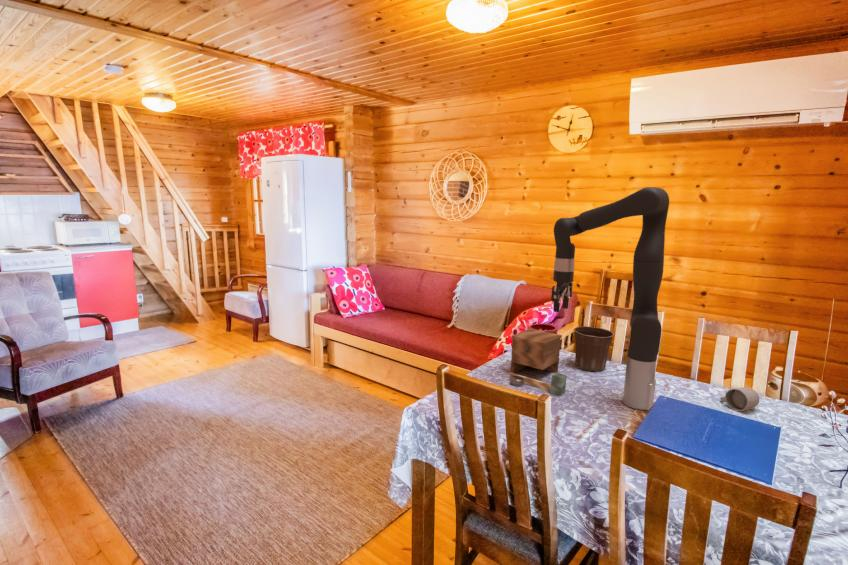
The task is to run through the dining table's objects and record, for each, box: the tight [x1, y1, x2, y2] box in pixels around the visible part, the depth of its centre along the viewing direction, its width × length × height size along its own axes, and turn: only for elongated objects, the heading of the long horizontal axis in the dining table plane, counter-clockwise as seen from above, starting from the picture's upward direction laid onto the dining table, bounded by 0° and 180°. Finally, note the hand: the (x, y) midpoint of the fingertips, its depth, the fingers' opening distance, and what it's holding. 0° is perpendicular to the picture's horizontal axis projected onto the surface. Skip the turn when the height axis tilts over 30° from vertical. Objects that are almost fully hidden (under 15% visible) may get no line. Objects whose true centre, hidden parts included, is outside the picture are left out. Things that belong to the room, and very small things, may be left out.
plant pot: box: [573, 325, 615, 373], centre depth 193 cm, size 16×16×16 cm
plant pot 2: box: [528, 323, 558, 334], centre depth 214 cm, size 13×13×12 cm
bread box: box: [510, 328, 563, 374], centre depth 185 cm, size 15×16×16 cm
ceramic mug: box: [719, 386, 760, 412], centre depth 157 cm, size 11×8×8 cm
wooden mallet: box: [509, 372, 567, 397], centre depth 171 cm, size 22×4×7 cm, turn 50°
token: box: [509, 376, 524, 388], centre depth 174 cm, size 5×5×2 cm
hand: (560, 310), depth 176 cm, fingers open, 8 cm apart
